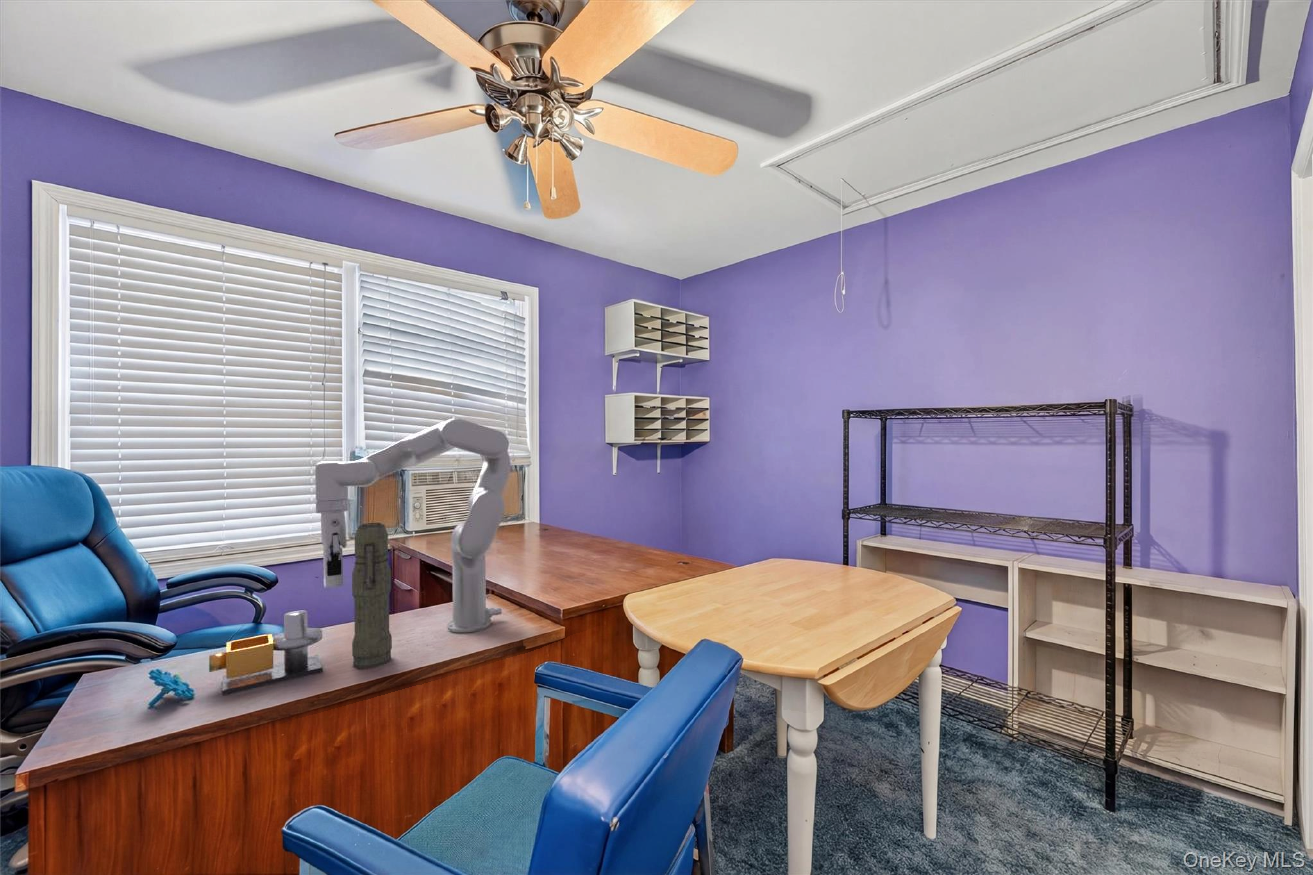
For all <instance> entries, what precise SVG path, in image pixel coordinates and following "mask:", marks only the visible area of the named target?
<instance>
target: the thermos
mask: <svg viewBox="0 0 1313 875" xmlns="http://www.w3.org/2000/svg"><path fill="white" fill-rule="evenodd" d="M388 553H389V534H388V531H387V528H386V525H385V524H382V523H380V522H371V523H363V524H361V525H358V526H357V529H356V532H355V535H354V557H355V561H354V567H353V570H352V574H351V586H352V587H351V588H352V590H351V593H352V594H351V595H352V597H353V600H354V602H353V604H354V636H353V639H352V646H351V647H352V648H351V652H352V657H353V661H352V667H354V668H356V669H371V668H376V667H379V666H383V665H385V664H387V663H389V662H391V660H392V645H393V641H392V640H393V638H392V636H393V635H392V633H391V630H390V593H391V591H392V569H391V567H390V564H389V558H388ZM388 661H389V662H388Z"/></svg>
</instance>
